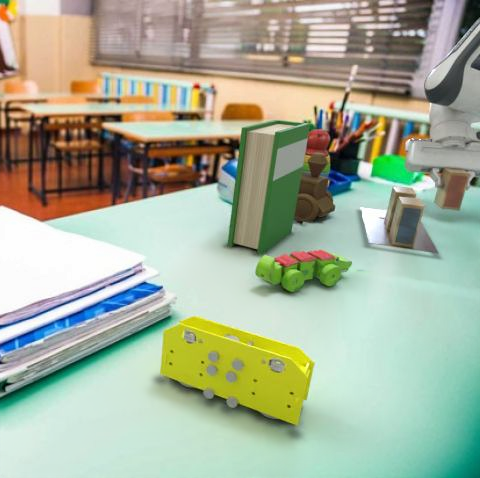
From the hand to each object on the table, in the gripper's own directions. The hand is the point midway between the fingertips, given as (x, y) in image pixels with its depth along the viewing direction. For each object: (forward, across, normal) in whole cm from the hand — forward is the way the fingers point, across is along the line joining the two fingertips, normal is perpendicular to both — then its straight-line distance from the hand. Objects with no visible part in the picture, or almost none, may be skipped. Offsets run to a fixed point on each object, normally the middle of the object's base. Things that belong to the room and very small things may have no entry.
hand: (452, 187), depth 119 cm
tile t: (+21, -14, -10) cm, 28 cm away
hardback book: (+27, -43, -15) cm, 53 cm away
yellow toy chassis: (+66, -45, -54) cm, 96 cm away
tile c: (+3, 0, +4) cm, 5 cm away
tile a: (+14, -14, -3) cm, 20 cm away
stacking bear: (-7, -31, +19) cm, 37 cm away
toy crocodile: (+41, -36, -29) cm, 62 cm away
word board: (+15, -14, -2) cm, 20 cm away
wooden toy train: (+12, -37, 0) cm, 39 cm away
